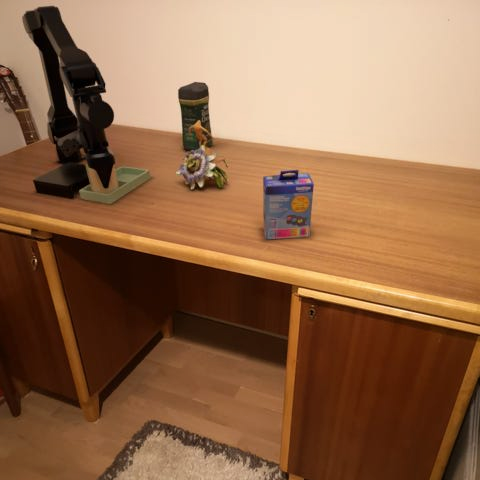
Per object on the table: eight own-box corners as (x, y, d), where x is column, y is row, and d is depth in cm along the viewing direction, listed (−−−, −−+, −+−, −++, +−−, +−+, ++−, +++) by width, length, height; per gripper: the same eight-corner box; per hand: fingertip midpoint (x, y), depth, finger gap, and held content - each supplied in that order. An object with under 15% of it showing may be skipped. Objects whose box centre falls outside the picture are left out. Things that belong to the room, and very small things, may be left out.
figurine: (221, 160, 137) (218, 118, 130) (210, 167, 133) (206, 124, 126) (198, 156, 141) (194, 115, 133) (186, 163, 137) (182, 120, 129)
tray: (123, 173, 132) (121, 165, 130) (150, 178, 129) (149, 169, 127) (81, 199, 119) (78, 190, 118) (110, 204, 116) (108, 195, 114)
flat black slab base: (72, 174, 133) (68, 162, 131) (105, 179, 129) (102, 166, 127) (36, 192, 123) (32, 180, 121) (71, 199, 119) (68, 186, 117)
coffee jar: (201, 153, 142) (195, 87, 131) (179, 150, 145) (172, 86, 134) (216, 144, 149) (212, 80, 138) (195, 141, 152) (190, 79, 141)
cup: (103, 182, 123) (97, 156, 119) (124, 186, 121) (118, 159, 117) (86, 192, 119) (79, 165, 114) (108, 196, 116) (102, 168, 112)
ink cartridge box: (265, 241, 98) (264, 174, 89) (262, 229, 102) (261, 164, 93) (311, 237, 98) (315, 170, 89) (306, 225, 103) (309, 160, 94)
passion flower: (195, 208, 124) (165, 172, 119) (213, 186, 131) (184, 151, 126) (223, 192, 117) (192, 153, 112) (240, 169, 123) (211, 131, 118)
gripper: (52, 113, 114) (69, 175, 124) (56, 134, 100) (75, 202, 110) (98, 108, 117) (111, 168, 127) (108, 127, 103) (122, 194, 113)
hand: (104, 182), depth 119 cm, fingers closed on cup, 7 cm apart
